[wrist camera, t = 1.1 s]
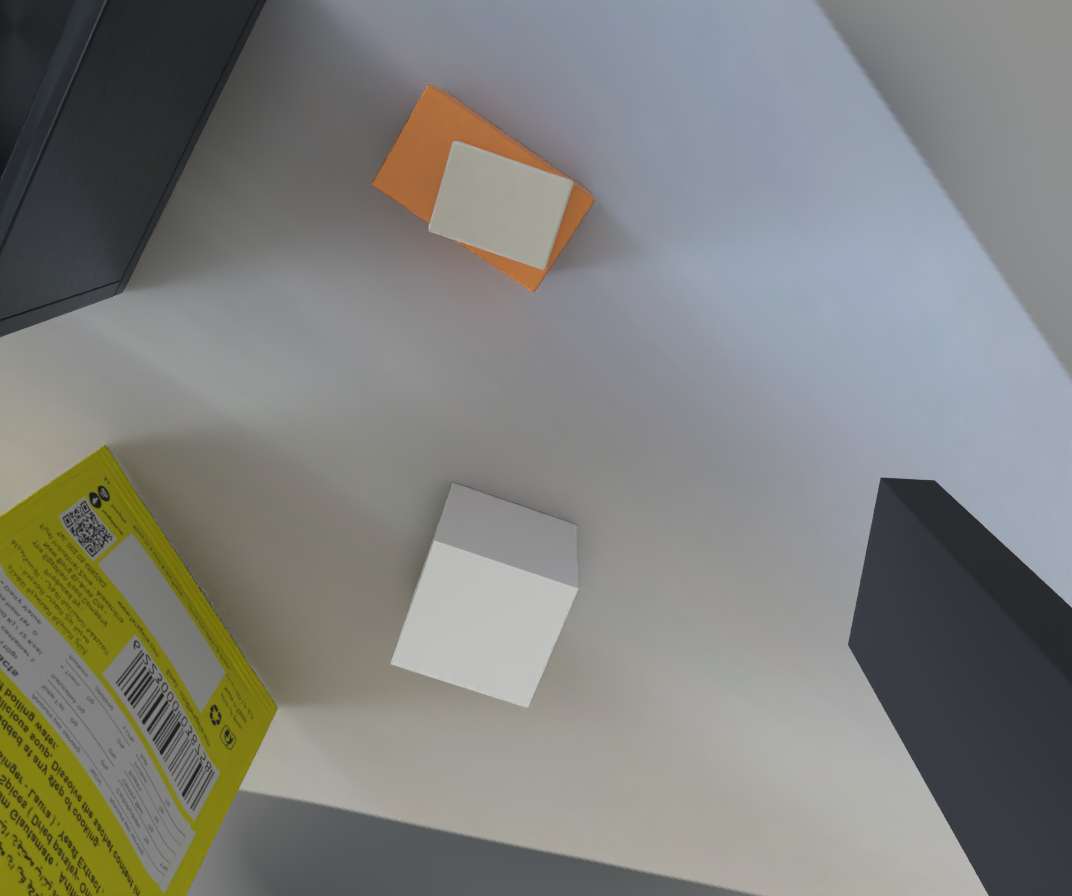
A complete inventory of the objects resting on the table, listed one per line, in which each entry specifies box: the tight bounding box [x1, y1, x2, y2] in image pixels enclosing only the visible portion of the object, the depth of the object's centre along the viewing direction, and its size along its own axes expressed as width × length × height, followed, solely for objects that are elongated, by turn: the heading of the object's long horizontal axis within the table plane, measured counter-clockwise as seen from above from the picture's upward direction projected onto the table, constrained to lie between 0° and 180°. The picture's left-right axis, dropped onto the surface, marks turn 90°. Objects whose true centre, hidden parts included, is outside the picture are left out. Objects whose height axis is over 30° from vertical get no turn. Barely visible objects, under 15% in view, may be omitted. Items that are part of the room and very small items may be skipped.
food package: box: [0, 445, 278, 896], centre depth 32 cm, size 15×1×20 cm, turn 25°
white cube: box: [391, 483, 579, 708], centre depth 38 cm, size 6×6×6 cm
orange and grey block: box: [372, 85, 594, 292], centre depth 33 cm, size 4×7×5 cm, turn 57°
